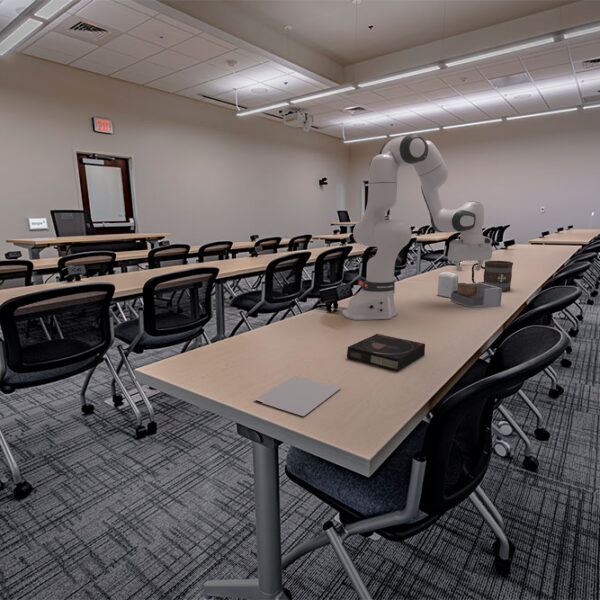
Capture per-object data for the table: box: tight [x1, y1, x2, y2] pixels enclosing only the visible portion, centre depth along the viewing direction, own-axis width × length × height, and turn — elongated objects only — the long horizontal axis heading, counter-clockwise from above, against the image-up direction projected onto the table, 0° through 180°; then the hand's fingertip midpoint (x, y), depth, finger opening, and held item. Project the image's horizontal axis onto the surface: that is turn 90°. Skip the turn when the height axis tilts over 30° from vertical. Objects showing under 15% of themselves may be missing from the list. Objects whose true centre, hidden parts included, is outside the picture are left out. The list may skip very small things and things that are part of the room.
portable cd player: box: [346, 333, 426, 373], centre depth 120 cm, size 16×17×4 cm
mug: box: [471, 260, 514, 294], centre depth 214 cm, size 20×14×15 cm
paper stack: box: [257, 375, 342, 417], centre depth 102 cm, size 23×25×1 cm
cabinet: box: [450, 282, 503, 309], centre depth 184 cm, size 15×15×8 cm
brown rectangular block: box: [457, 282, 477, 298], centre depth 183 cm, size 3×10×8 cm, turn 13°
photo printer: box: [437, 271, 459, 299], centre depth 199 cm, size 10×4×12 cm, turn 28°
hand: (468, 270), depth 180 cm, fingers open, 8 cm apart
